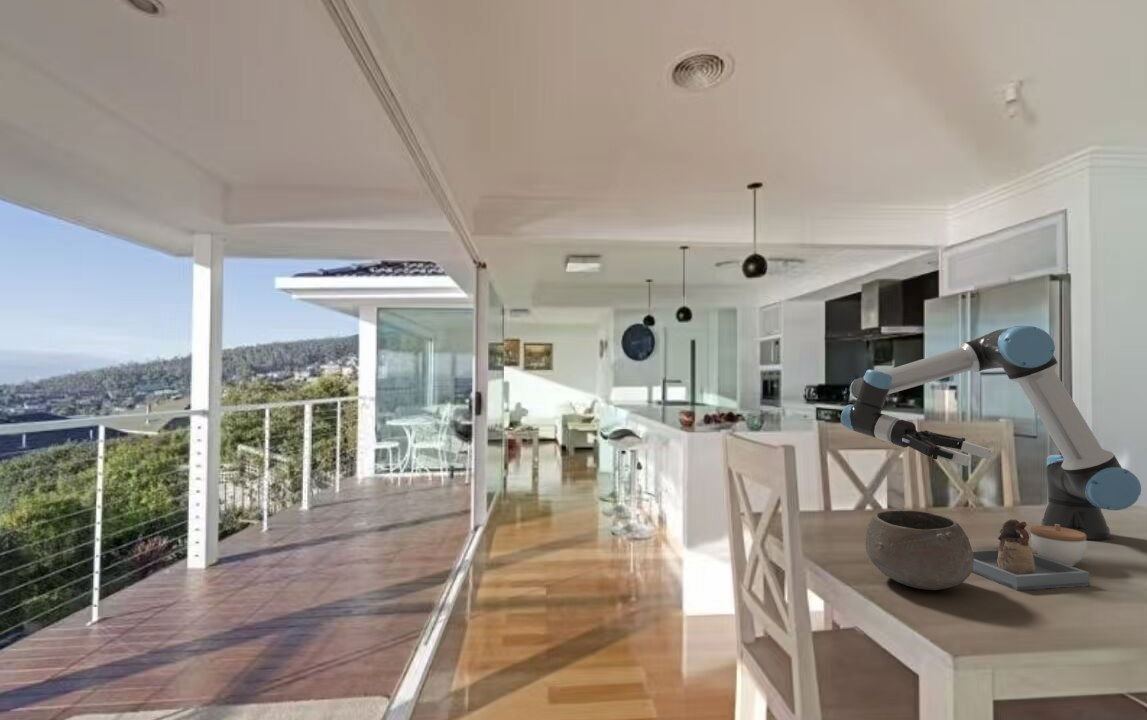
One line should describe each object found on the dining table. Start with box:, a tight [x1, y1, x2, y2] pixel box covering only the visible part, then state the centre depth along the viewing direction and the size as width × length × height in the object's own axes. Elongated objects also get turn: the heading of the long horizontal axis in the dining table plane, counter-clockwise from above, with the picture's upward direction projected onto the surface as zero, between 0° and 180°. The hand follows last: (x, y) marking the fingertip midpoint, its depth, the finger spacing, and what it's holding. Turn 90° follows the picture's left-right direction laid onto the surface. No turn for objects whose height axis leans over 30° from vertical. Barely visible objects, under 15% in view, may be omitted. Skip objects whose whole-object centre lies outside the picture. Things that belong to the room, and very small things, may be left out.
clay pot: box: [864, 510, 974, 591], centre depth 126 cm, size 21×21×15 cm
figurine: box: [997, 518, 1035, 575], centre depth 132 cm, size 7×7×12 cm
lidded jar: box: [1029, 524, 1088, 567], centre depth 140 cm, size 11×11×9 cm
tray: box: [971, 548, 1091, 592], centre depth 132 cm, size 18×18×3 cm
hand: (979, 457), depth 145 cm, fingers open, 13 cm apart
